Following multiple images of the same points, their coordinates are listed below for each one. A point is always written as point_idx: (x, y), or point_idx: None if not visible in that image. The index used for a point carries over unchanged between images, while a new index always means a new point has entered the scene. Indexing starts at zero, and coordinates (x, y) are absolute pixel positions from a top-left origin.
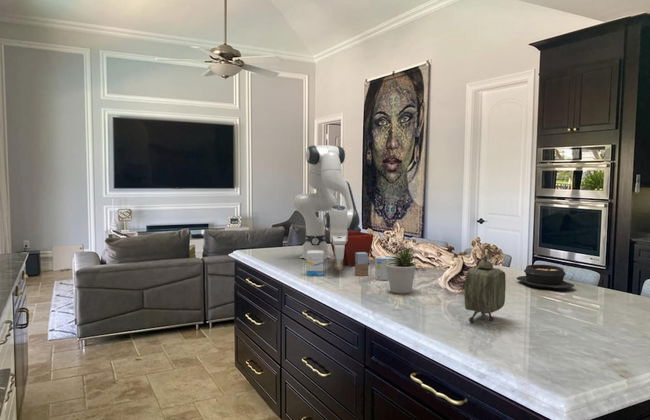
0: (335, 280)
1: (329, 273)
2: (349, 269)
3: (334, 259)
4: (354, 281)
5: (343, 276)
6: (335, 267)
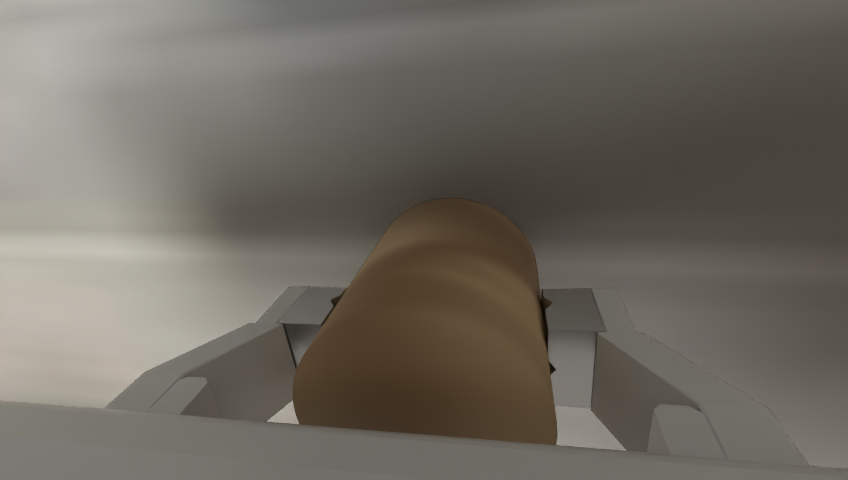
0: (40, 194)
1: (466, 85)
2: (778, 396)
3: (373, 309)
4: (86, 374)
5: (280, 291)
6: (385, 234)
